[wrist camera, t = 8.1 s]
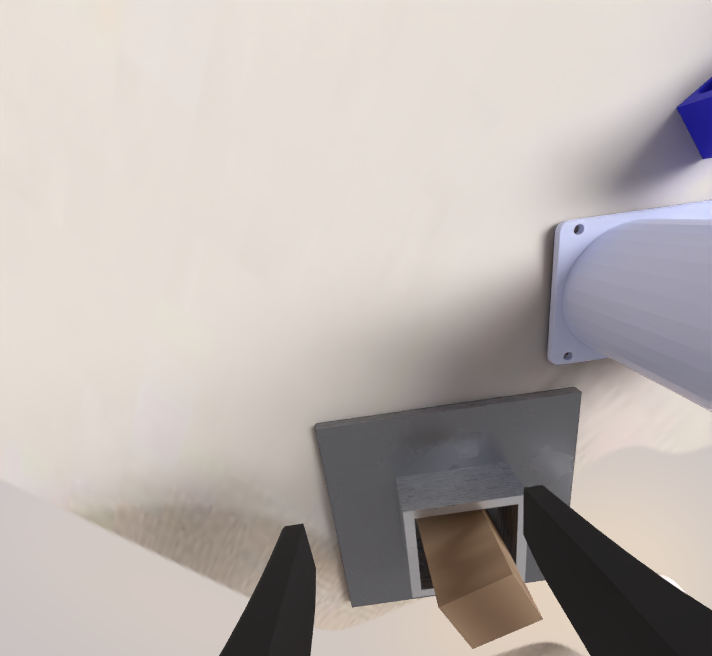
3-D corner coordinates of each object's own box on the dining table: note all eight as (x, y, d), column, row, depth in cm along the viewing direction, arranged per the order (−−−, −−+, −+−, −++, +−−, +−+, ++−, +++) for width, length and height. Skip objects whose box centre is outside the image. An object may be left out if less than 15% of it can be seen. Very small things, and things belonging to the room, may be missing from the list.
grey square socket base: (574, 387, 20) (616, 417, 17) (557, 569, 25) (586, 617, 22) (316, 423, 20) (312, 460, 17) (351, 598, 25) (353, 650, 22)
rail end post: (466, 478, 21) (512, 574, 16) (491, 517, 23) (542, 619, 17) (413, 506, 22) (438, 607, 16) (440, 542, 23) (472, 649, 17)
